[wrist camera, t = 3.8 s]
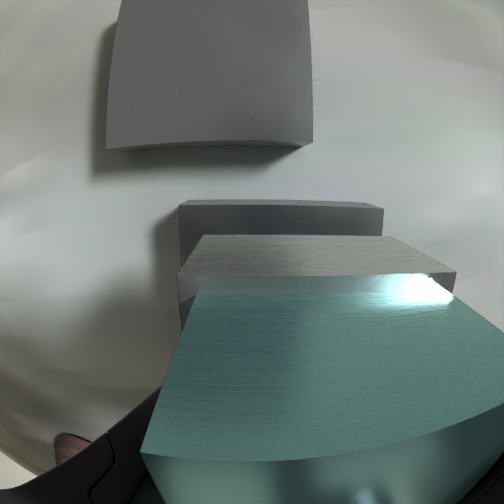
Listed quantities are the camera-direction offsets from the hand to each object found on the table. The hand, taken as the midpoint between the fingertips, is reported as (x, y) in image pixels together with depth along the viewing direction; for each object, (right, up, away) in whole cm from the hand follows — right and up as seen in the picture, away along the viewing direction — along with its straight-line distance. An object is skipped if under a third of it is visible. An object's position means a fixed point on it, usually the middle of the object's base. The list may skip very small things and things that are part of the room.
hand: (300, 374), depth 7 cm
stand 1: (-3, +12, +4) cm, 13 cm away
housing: (0, 0, +1) cm, 1 cm away
